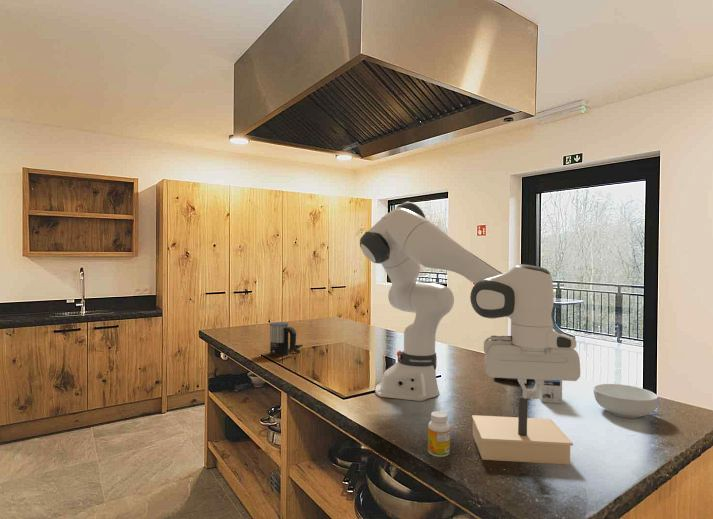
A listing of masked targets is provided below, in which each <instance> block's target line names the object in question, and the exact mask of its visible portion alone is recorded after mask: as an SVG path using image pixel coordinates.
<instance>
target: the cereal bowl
mask: <svg viewBox="0 0 713 519" xmlns="http://www.w3.org/2000/svg"><path fill="white" fill-rule="evenodd" d="M593 397H594V400H595V401H596V403H597V404H598V405H599V406H600V407H602V409H604V410H606V411H609V412H610V414H612V415H615V416H617V417H620V418H625V419H627V418H628V419H639V418H640V417H641V416H642V417H643V416H648V415H650V414H652V413H654V412H655V410H656V409H657V407H658V403H659V401H658V400H659V396H658V395H657V394H656V393H654V392H653V391H651V390H649V389H644V388H642V387H638V386H633V385H627V384H618V383H617V384H616V383H602V384H597V385H595V386H594V387H593Z"/></svg>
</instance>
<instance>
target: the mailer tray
mask: <svg viewBox="0 0 713 519" xmlns="http://www.w3.org/2000/svg"><path fill="white" fill-rule="evenodd" d="M472 437H473V440H474V442H475V444H476V448H477V449H478V453H479V455H480V457H481V460H483V461H484V460H485V461H502V462H515V463H516V462H517V463H531V464H532V463H537V464H550V465H551V464H553V465H554V464H555V465H571V446H569V445H550V444H531V443H512V442H493V441H482V440H481V438H480V436H479V433H478V431H477V428H476V426H475V424H474V421H473V420H472Z"/></svg>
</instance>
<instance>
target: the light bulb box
mask: <svg viewBox="0 0 713 519" xmlns="http://www.w3.org/2000/svg"><path fill="white" fill-rule="evenodd" d="M538 399H539V400H540V402H542V403H552V404H563V380H544V385H543V386H542V388H541V389H540V391H539V392H538Z"/></svg>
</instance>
